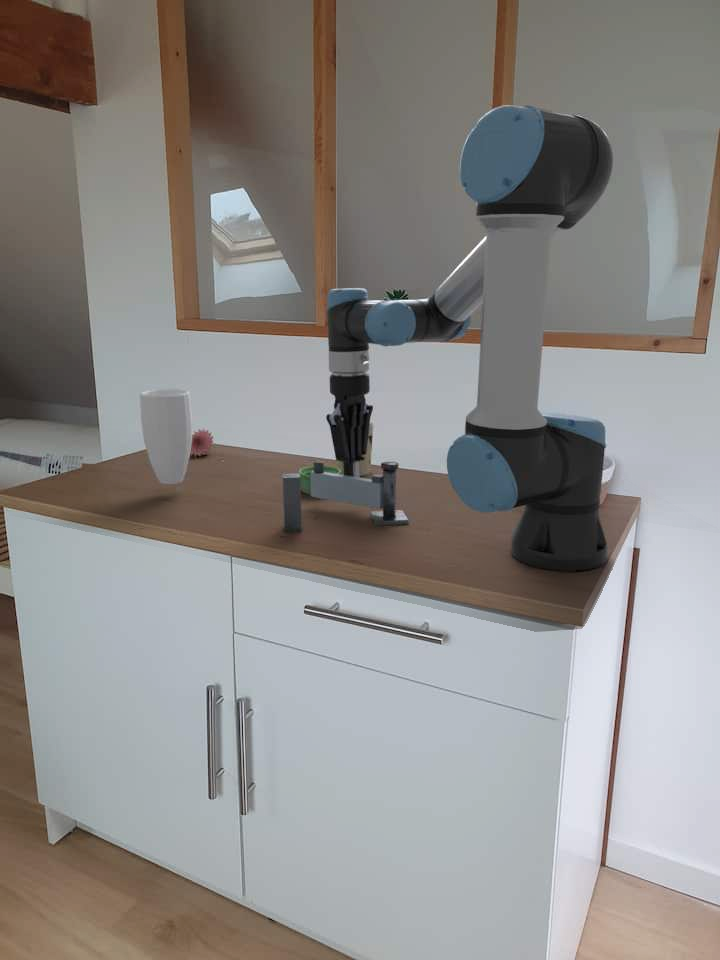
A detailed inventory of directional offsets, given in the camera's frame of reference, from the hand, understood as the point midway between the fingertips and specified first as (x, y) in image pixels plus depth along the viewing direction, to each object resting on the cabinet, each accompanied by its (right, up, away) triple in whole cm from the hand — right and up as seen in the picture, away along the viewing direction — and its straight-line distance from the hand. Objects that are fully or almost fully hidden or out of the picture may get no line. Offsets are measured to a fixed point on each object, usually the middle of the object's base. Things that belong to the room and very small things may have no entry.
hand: (352, 493), depth 146 cm
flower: (-39, +9, +45) cm, 60 cm away
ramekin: (-7, 0, +13) cm, 15 cm away
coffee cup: (0, +4, +27) cm, 28 cm away
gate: (-1, -2, -2) cm, 3 cm away
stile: (-11, -6, -12) cm, 17 cm away
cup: (-38, -1, +10) cm, 39 cm away
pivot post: (+7, -5, -7) cm, 11 cm away
